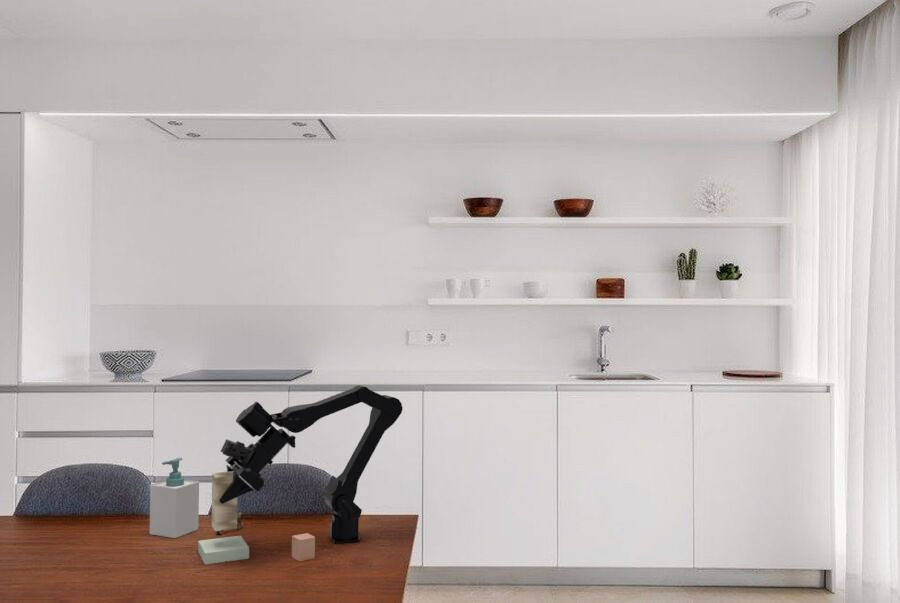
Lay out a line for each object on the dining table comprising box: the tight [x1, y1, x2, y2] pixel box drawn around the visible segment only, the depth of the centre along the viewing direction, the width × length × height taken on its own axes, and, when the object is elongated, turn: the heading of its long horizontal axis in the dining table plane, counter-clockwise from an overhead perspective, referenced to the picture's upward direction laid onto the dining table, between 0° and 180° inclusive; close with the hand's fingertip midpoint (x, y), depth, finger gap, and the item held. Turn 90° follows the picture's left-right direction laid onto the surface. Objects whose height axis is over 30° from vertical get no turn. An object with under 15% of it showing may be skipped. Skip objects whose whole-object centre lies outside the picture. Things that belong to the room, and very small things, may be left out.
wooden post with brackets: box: [215, 511, 245, 536], centre depth 193 cm, size 2×8×4 cm, turn 143°
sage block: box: [197, 535, 250, 565], centre depth 174 cm, size 10×10×3 cm
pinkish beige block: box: [291, 532, 316, 562], centre depth 173 cm, size 4×4×5 cm
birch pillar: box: [211, 471, 238, 532], centre depth 174 cm, size 5×5×12 cm
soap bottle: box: [149, 457, 200, 539], centre depth 192 cm, size 9×9×19 cm
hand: (218, 499), depth 173 cm, fingers closed on birch pillar, 5 cm apart
